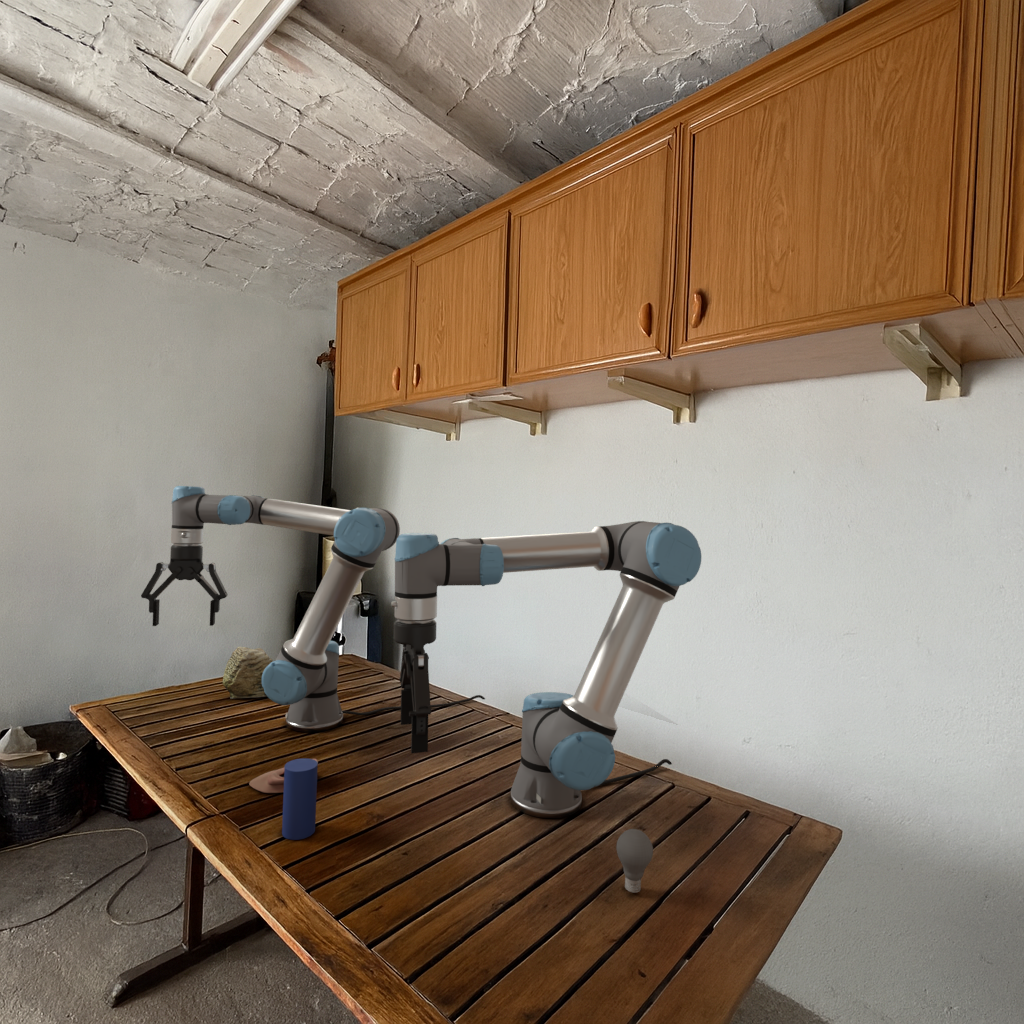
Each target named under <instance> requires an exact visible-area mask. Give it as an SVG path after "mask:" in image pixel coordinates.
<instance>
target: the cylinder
mask: <svg viewBox="0 0 1024 1024" xmlns="http://www.w3.org/2000/svg"><path fill="white" fill-rule="evenodd" d="M313 759H314V758H305V757H304V758H296V759H292V760H290V761H287V762H286V763H285V764H284V767H285V768H284V767H283V768H284V792H283V797H282V798H283V799H282V821H281V822H282V824H281V826H282V827H281V835H282V837H283V838H285V839H287V840H290V841H297V840H298V841H300V840H303V839H306V838H309V837H311V836H313V834H315V832H316V821H317V819H316V818H317V817H316V815H317V791H318V768H319V767H318V765H319V762H318V763H317V761H318V760H317V761H315V760H313Z"/></svg>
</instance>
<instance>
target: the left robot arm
mask: <svg viewBox="0 0 1024 1024" xmlns="http://www.w3.org/2000/svg"><path fill="white" fill-rule="evenodd" d="M172 490H173V491H172V500H171V529H170V531H171V532H170V543H171V544H173V545H171V546H170V557H169V558H170V559H169V563H166V562H163V561H160V562H157V563H156V564H155V570H154V573H153V574H152V576H151V577H150V579H149V581H148V583H147V585H146V586H145V588H144V590H143V591H142V593H141V595H140V597H141V599H145V600H147V601H148V612H149V613H150V614H152V627H157V626H158V625H160V599H157V598H158V597H159V596H160V595H161V594H162V593H163V592H164V591H165V590H166V589H167V588H168V587H169V586H170V585H171V584H172V583H173V582H174V581H175V580H178V581H184V580H185V581H193V580H195V581H196V582H197V583H198V584H199V585H200V586H201V587H202V588H203V590H205V592H206V593H207V594H208V595H209V596H210V597H211V600H210V603H209V604H210V605H209V606H210V608H209V626H210V627H213V626H214V625H215V624H216V613H219V612H220V609H221V606H220V605H221V600H223V599H226V598H227V597H228V592H227V590H226V588H225V586H224V584H223V582H222V580H221V577H220V576H219V574H218V572H217V570H216V569H217V567H216V563H215V562H211V563H204V562H203V552H204V551H203V550H204V547H203V545H202V544H203V543H204V524H215V525H217V524H218V525H228V526H233V525H234V526H235V525H244V524H255V525H260V526H261V525H263V526H271V527H277V528H284V529H290V530H294V531H295V530H296V531H301V532H308V533H309V532H310V533H314V534H315V533H316V534H321V535H327V536H333V538H334V541H333V544H332V546H331V547H330V551H331V555H332V559H331V562H330V563H329V566H328V567H327V569H326V571H325V574H324V575H323V577H322V579H321V581H320V583H319V585H318V587H317V590H316V591H315V594H314V596H313V597H312V600H311V602H310V604H309V605H308V608H307V610H306V611H305V613H304V616H303V617H302V620H301V622H300V624H299V626H298V628H297V631H296V632H295V634H294V636H293V638H291V639H288V640H286V641H285V642H284V643H283V645H282V647H281V648H280V650H279V653H278V655H277V656H276V658H275V659H274V660H273V662H271V663H270V664H269V665H268V666H267V667H266V668H265V670H264V671H263V674H262V687H263V688H264V692H265V694H266V695H267V696H266V697H267V698H268V699H269V700H271V702H273V703H275V704H277V705H281V706H289V708H288V711H287V712H285V726H286V728H287V729H289V730H291V731H294V732H295V731H296V732H301V733H316V732H325V731H329V730H332V729H335V728H337V727H339V726H340V725H342V723H343V722H344V714H346V715H354V716H369V715H372V714H373V715H374V714H376V713H379V712H383V711H391V710H401V705H400V706H399V705H397V706H387V707H381V708H377V709H374V710H371V711H365V712H357V711H353V710H343V709H342V706H341V702H340V699H339V695H338V682H339V662H340V661H339V660H340V645H339V643H338V642H337V641H335V640H332V638H333V636H334V634H335V632H336V630H337V628H338V626H339V624H340V622H341V620H342V618H343V616H344V614H345V612H346V610H347V609H348V606H349V604H350V602H351V600H352V598H353V596H354V594H355V593H356V590H357V588H358V586H359V584H360V582H361V580H362V578H363V576H364V574H365V572H367V571H370V570H372V569H374V567H375V566H376V563H377V562H378V560H379V558H380V556H381V554H382V552H384V551H387V550H389V549H391V548H392V547H393V546H394V545H396V540H397V538H398V536H399V535H400V530H401V527H400V523H399V520H398V519H397V517H396V516H395V514H393V513H392V512H391V511H390V510H388V509H385V508H382V507H356V508H353V509H351V510H350V509H344V508H338V507H330V506H324V505H316V504H310V503H301V502H297V501H289V500H283V499H276V498H268V497H264V496H262V495H261V496H260V495H254V494H253V495H235V494H233V495H232V494H207V493H206V489H205V487H203V486H194V485H193V486H192V485H191V486H189V485H176V486H175V487H174V488H173V489H172ZM166 569H168V570H169V572H170V573H171V574H170V575H169V576H168V577H167V578H166V579H165V580H164V581H163V582H162V583H161V585H159V586H158V587H157V589H156V590H154V591H153V589H154V587H155V586H156V584H157V582H158V581H159V579H160V577H161V576H162V574H163V572H165V571H166ZM204 569H205V571H206V572H207V573H209V576H210V578H211V580H212V581H213V584H214V586H215V588H216V590H217V591H216V590H215V589H214V587H212V585H211V584H210V583H209V581H208V580H207V579H206V577H204V575H203V574H202V571H203V570H204ZM152 591H153V592H152ZM151 592H152V593H151ZM478 698H479V699H481V700H486V698H485V697H484V696H483V695H480V694H476V695H474V696H471V697H468V698H464V699H460V700H456V701H452V702H451V701H450V702H446V703H439V704H430V705H431V709H432V708H440V707H441V708H442V707H447V706H453V705H458V704H462V703H467V702H471V701H472V700H475V699H478ZM423 707H424V706H420V707H419V708H423Z"/></svg>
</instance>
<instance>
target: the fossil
mask: <svg viewBox="0 0 1024 1024" xmlns="http://www.w3.org/2000/svg"><path fill="white" fill-rule="evenodd" d="M273 661H274V660H273V659H272V658H271V657H270V656H269V655H268V654H267V653H266V652H265V650H264V649H263V648H260V647H258V648H251V647H247V646H246V647H245V646H238V647H237V648H236V649H235V650H233V651H232V653H231V656H230V657H229V659H228V660H227V663H226V666H225V668H224V671H223V675H222V676H223V677H222V685H223V687H224V688H225V690H226V691H228V693H229V698H230V699H250V698H264V697H268V696H267V695H266V694H265V692H264V688H263V687H262V674H263V671H264V670H265V668H266V667H267V666H268V665H269V664H270V663H271V662H273Z"/></svg>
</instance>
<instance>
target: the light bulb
mask: <svg viewBox="0 0 1024 1024" xmlns="http://www.w3.org/2000/svg"><path fill="white" fill-rule="evenodd" d="M615 849H616V854H617V857H618V859H619V861H620V863H621V865H622V867H623V873H624V874H623V875H624V876H625V878H624V888H625V890H627V891H628V892H630V893H634V894H635V893H639V892H640V891H641V889H642V887H641V886H642V879H643V877H644V875H645V871H646V868H647V867H648V866H649V864H650V863H651V861H652V859H653V855H654V847H653V843H652V841H651V838H649V836H648V835H647V834H646V833H645V832H643V831H642V830H641V829H636V828H629V829H627V830H625V831H623V832H622V833H621V834H620V835H619V837H618V839H617V841H616V847H615Z"/></svg>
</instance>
